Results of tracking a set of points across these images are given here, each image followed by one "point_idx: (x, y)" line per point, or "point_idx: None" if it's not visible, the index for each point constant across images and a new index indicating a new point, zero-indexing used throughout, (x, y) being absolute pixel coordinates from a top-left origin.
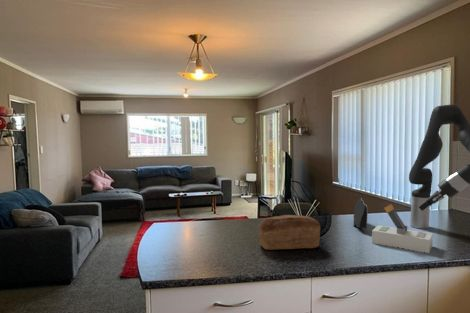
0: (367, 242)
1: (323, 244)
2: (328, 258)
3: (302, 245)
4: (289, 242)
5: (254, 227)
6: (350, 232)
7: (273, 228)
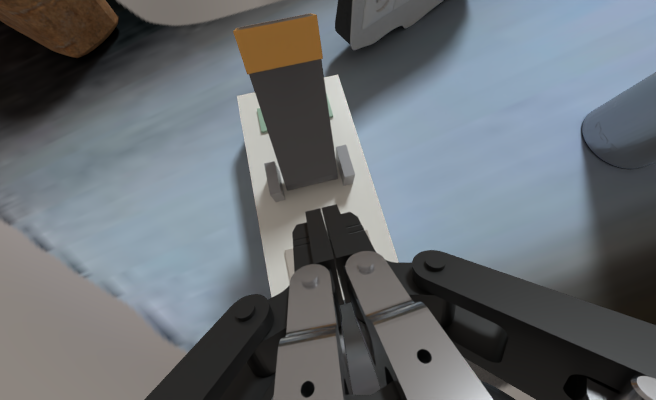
0: None
1: (130, 53)
2: (14, 123)
3: (26, 35)
4: None
5: None
6: None
7: None
